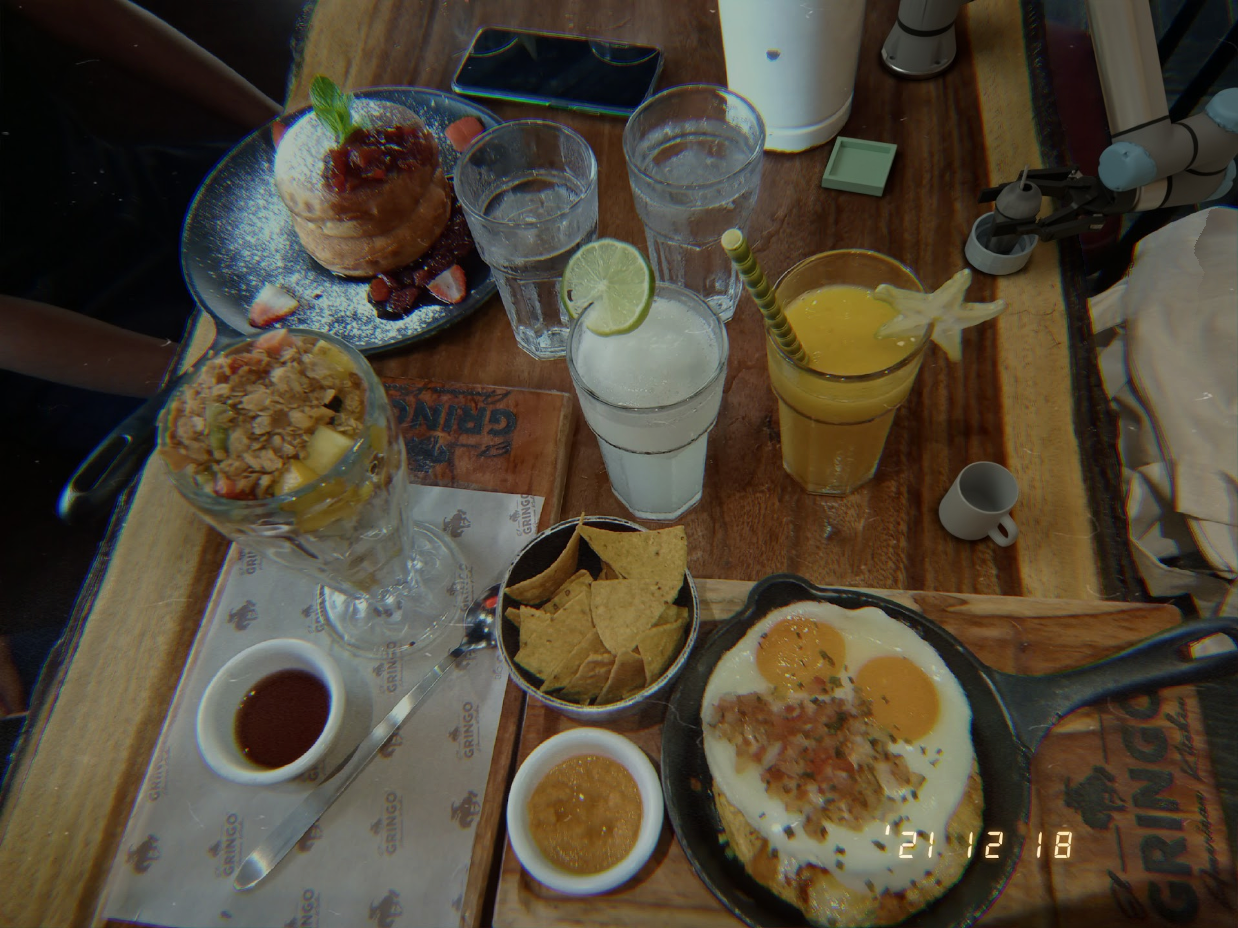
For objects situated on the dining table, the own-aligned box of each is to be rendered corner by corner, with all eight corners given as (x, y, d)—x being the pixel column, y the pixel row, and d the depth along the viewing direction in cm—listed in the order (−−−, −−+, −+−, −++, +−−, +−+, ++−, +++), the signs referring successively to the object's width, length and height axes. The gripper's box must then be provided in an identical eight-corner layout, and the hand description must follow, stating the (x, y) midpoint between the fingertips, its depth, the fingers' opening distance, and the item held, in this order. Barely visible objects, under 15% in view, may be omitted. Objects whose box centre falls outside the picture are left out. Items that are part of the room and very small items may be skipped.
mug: (926, 506, 117) (944, 477, 107) (971, 481, 117) (993, 450, 107) (976, 569, 111) (999, 544, 101) (1023, 542, 112) (1051, 516, 102)
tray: (836, 145, 153) (837, 136, 151) (895, 154, 150) (897, 144, 148) (821, 186, 149) (822, 177, 147) (881, 196, 146) (883, 187, 143)
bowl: (970, 225, 139) (978, 205, 135) (1032, 236, 136) (1042, 216, 132) (959, 269, 135) (966, 250, 131) (1023, 281, 132) (1033, 262, 128)
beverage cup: (1018, 268, 133) (1061, 182, 115) (975, 265, 135) (1011, 181, 117) (1017, 237, 136) (1059, 149, 118) (975, 235, 138) (1010, 148, 120)
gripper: (1138, 251, 123) (997, 272, 125) (1094, 167, 132) (964, 188, 134) (1161, 218, 116) (1012, 241, 119) (1113, 132, 125) (975, 155, 128)
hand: (986, 213), depth 126 cm, fingers closed on beverage cup, 7 cm apart
